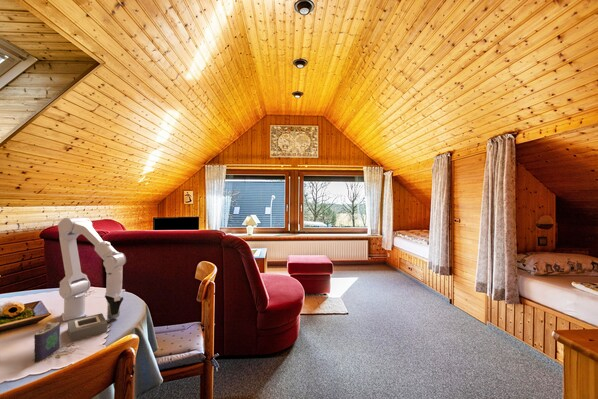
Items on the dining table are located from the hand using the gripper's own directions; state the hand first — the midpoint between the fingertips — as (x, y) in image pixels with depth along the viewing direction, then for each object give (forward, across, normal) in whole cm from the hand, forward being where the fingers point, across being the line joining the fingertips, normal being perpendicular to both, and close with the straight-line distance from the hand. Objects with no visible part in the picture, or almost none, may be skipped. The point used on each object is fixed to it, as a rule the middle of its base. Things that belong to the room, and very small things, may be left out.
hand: (113, 312), depth 115 cm
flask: (+3, -16, +21) cm, 27 cm away
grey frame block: (+3, -5, +9) cm, 11 cm away
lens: (+2, 0, 0) cm, 2 cm away
